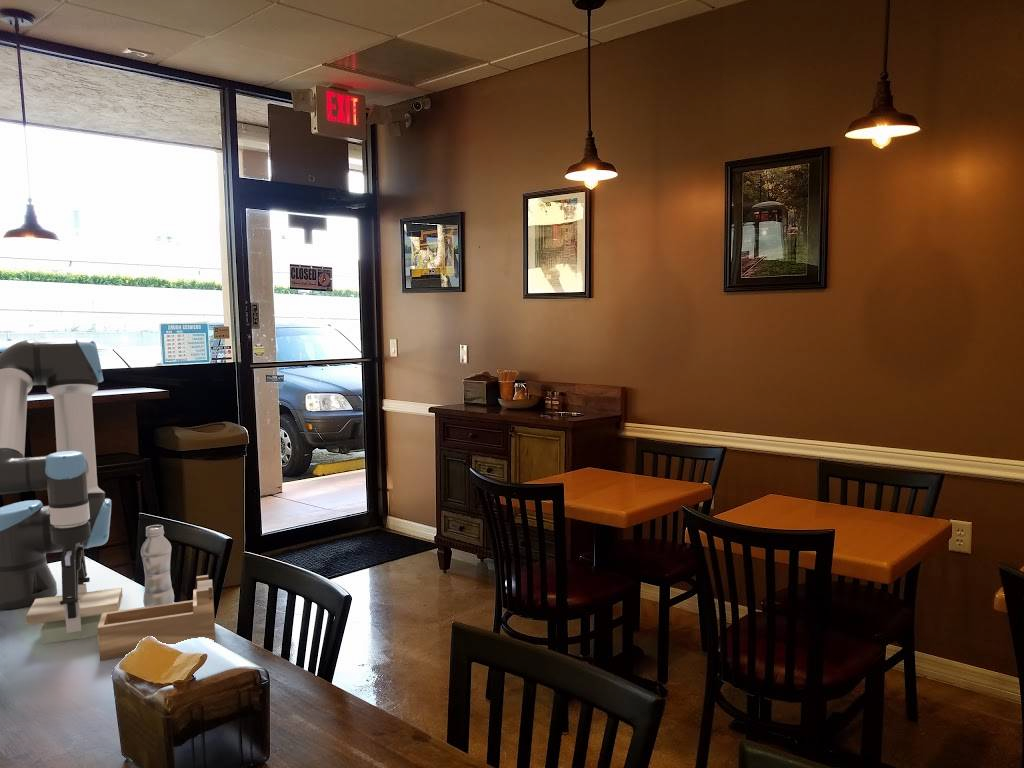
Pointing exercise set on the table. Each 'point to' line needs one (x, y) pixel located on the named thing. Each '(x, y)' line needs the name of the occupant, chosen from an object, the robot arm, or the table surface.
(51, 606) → the lid
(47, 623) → the block
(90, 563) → the table surface
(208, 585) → the block
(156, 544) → the plastic bottle
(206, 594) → the toolbox
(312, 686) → the table surface
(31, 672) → the table surface
